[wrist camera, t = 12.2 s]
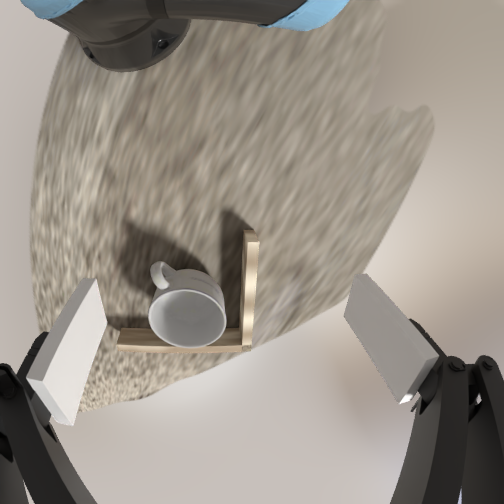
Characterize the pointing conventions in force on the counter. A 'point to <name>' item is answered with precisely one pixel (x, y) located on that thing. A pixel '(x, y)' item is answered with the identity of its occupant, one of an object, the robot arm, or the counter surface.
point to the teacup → (186, 307)
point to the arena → (231, 337)
